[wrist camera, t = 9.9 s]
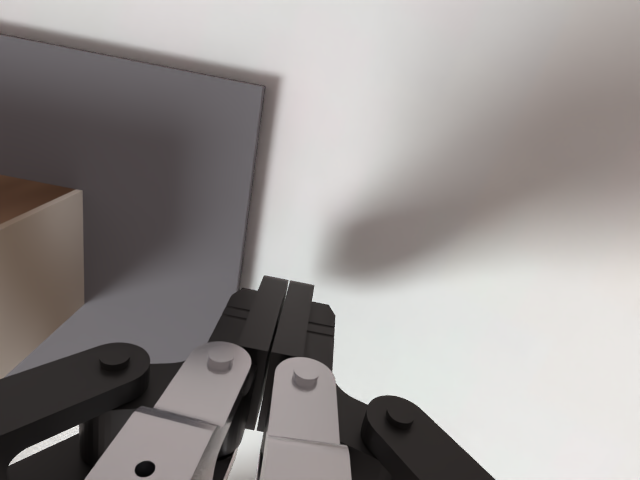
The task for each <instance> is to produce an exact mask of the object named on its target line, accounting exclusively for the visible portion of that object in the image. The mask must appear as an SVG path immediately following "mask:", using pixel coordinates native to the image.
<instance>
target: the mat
mask: <svg viewBox="0 0 640 480" xmlns="http://www.w3.org/2000/svg"><path fill="white" fill-rule="evenodd" d="M264 91H265V86H261V85H256V84H251V83H246V82H241V81H236V80H231V79H226V78H221V77H216V76H211V75H206V74H201V73H196V72H191V71H185V70H180V69H175V68H170V67H165V66H160V65H155V64H150V63H145V62H140V61H135V60H130V59H125V58H120V57H115V56H109V55H104V54H99V53H94V52H89V51H84V50H79V49H74V48H69V47H64V46H59V45H54V44H49V43H44V42H39V41H34V40H28V39H23V38H18V37H13V36H8V35H3V34H0V175H5V176H10V177H15V178H20V179H26V180H31V181H36V182H41V183H46V184H51V185H56V186H62V187H67V188H72V189H77V190H82V191H83V248H84V305H83V306H82V307H81V308H80V309H78V310H77V311H76V312H75V313H74V314H73V315H72V316H71V317H70V318H69V319H67V320H66V321H65V322H64V323H63V324H62V325H61V326H60V327H59V328H58V329H56V330H55V331H54V332H53V333H52V334H51V335H50V336H49V337H48V338H47V339H46V340H44V341H43V342H42V343H41V344H40V345H39V346H38V347H37V348H36V349H35V350H33V351H32V352H31V353H30V354H29V355H28V356H27V357H26V358H25V359H24V360H22V361H21V362H20V363H19V364H18V365H17V366H16V367H15V368H14V369H13V370H11V371H10V372H9V373H8V374H7V375H6V376H5V377H8V376H11V375H14V374H17V373H20V372H23V371H26V370H28V369H31V368H34V367H37V366H40V365H43V364H46V363H49V362H52V361H55V360H58V359H61V358H64V357H67V356H70V355H73V354H76V353H79V352H82V351H85V350H88V349H91V348H94V347H97V346H100V345H103V344H108V343H116V342H124V343H130V344H134V345H137V346H139V347H141V348H143V349H144V350H145V351H146V352H147V353H148V354H149V357H150V364H159V363H176V362H182V361H185V360H186V359H187V358H188V356H189V355H190V353H191V352H192V351H193V350H194V349H195V348H196V347H198V346H200V345H202V344H205V343H207V342H208V340H209V339H210V337H211V335H212V333H213V331H214V329H215V327H216V325H217V323H218V321H219V319H220V317H221V316H222V313H223V311H224V309H225V307H226V305H227V303H228V301H229V299H230V297H231V295H233V294H234V293H236V292H237V291H238V290H239V283H240V275H241V267H242V260H243V252H244V244H245V237H246V229H247V221H248V214H249V206H250V199H251V191H252V183H253V176H254V168H255V160H256V153H257V145H258V137H259V130H260V122H261V114H262V107H263V99H264ZM5 377H4V378H5Z"/></svg>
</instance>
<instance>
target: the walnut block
mask: <svg viewBox="0 0 640 480" xmlns="http://www.w3.org/2000/svg"><path fill="white" fill-rule="evenodd" d="M83 305H84V248H83V191H82V190H77V189H72V188H67V187H62V186H56V185H51V184H46V183H41V182H36V181H31V180H26V179H20V178H15V177H10V176H5V175H0V379H2V378H4V377H5V376H6V375H7V374H8V373H9V372H10V371H11V370H13V369H14V368H15V367H16V366H17V365H18V364H19V363H20V362H21V361H22V360H24V359H25V358H26V357H27V356H28V355H29V354H30V353H31V352H32V351H33V350H35V349H36V348H37V347H38V346H39V345H40V344H41V343H42V342H43V341H44V340H46V339H47V338H48V337H49V336H50V335H51V334H52V333H53V332H54V331H55V330H56V329H58V328H59V327H60V326H61V325H62V324H63V323H64V322H65V321H66V320H67V319H69V318H70V317H71V316H72V315H73V314H74V313H75V312H76V311H77V310H78V309H80V308H81V307H82V306H83Z"/></svg>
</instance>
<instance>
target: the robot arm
mask: <svg viewBox="0 0 640 480" xmlns="http://www.w3.org/2000/svg"><path fill="white" fill-rule="evenodd" d="M287 286H288V280H285V279H280V278H275V277H270V276H265V275H264V277H263V279H262V282H261V284H260V287H259V289H258V291H255V290H250V289H245V288H242V289H240V290H239V291H237V292H236V293H234V294H233V295H231V297H230V299H229V301H228V303H227V305H226V307H225V309H224V311H223V313H222V316H221V317H220V319H219V321H218V323H217V325H216V327H215V329H214V331H213V333H212V335H211V337H210V339H209V340H208V342H207V343H205V344H202V345H200V346H198V347H196V348H195V349H194V350H193V351H192V352H191V353H190V355H189V356H188V358H187V359H186V360H185V361H182V362H176V363H159V364H150V357H149V354H148V353H147V352H146V351H145V350H144V349H143V348H141V347H139V346H137V345H134V344H130V343H124V342H116V343H108V344H103V345H100V346H97V347H94V348H91V349H88V350H85V351H82V352H79V353H76V354H73V355H70V356H67V357H64V358H61V359H58V360H55V361H52V362H49V363H46V364H43V365H40V366H37V367H34V368H31V369H28V370H26V371H23V372H20V373H17V374H14V375H11V376H8V377H5V378H2V379H0V480H227V479H228V476H229V474H230V471H231V469H232V466H233V463H234V461H235V458H236V455H237V449H238V446H239V444H240V443H241V440H242V437H243V433H244V430H245V429H250V430H254V429H255V425H256V421H257V417H258V413H259V409H260V406H261V411H260V416H259V422H258V427H257V431H261V432H264V433H263V438H262V444H261V449H260V454H259V460H258V466H257V473H256V480H495V479H494V478H493V477H492V476H491V475H490V474H489V473H488V472H487V471H486V470H485V469H484V468H483V467H481V466H480V465H479V464H478V463H477V462H476V461H475V460H474V459H473V458H472V457H471V456H470V455H469V454H468V453H467V452H466V451H465V450H464V449H462V448H461V447H460V446H459V445H458V444H457V443H456V442H455V441H454V440H453V439H452V438H451V437H450V436H449V435H448V434H447V433H446V432H445V431H443V430H442V429H441V428H440V427H439V426H438V425H437V424H436V423H435V422H434V421H433V420H432V419H431V418H430V417H429V416H428V415H427V414H426V413H424V412H423V411H422V410H421V409H420V408H419V407H418V406H416V405H415V404H414V403H412V402H410V401H408V400H406V399H403V398H400V397H397V396H388V395H386V396H380V397H377V398H375V399H373V400H372V401H371V402H370V403H369V404H368V405H367V404H365V403H363V402H360V401H358V400H356V399H354V398H352V397H350V396H349V395H347V394H346V393H345V392H343V391H342V390H341V389H340V388H339V387H338V385H337V384H336V381H335V377H334V374H333V373H332V367H333V349H334V330H335V329H334V327H335V315H334V313H333V311H332V310H331V308H330V306H329V305H326V304H321V303H316V302H312V296H313V290H314V285H311V284H306V283H301V282H296V281H291V280H290V283H289V287H288V291H287ZM286 292H287V295H286ZM285 297H286V298H285ZM262 398H263V400H262ZM261 402H262V405H261ZM77 425H79V434H76V435H74V436H72V437H70V438H68V439H66V440H64V441H61V442H59V443H57V444H55V445H53V446H51V447H48V448H46V449H44V450H42V451H40V452H38V453H36V454H33V455H31V456H29V457H27V458H25V459H23V460H20V461H18V462H16V463H14V464H12V465H10V466H8V465H9V463H10V462H11V461H12V459H13V458H14V457H15V456H16V455H17V454H19V453H20V452H21V451H23V450H24V449H26V448H28V447H30V446H32V445H35V444H37V443H39V442H41V441H43V440H46V439H48V438H50V437H52V436H55V435H57V434H59V433H61V432H63V431H66V430H68V429H70V428H72V427H75V426H77Z"/></svg>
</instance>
